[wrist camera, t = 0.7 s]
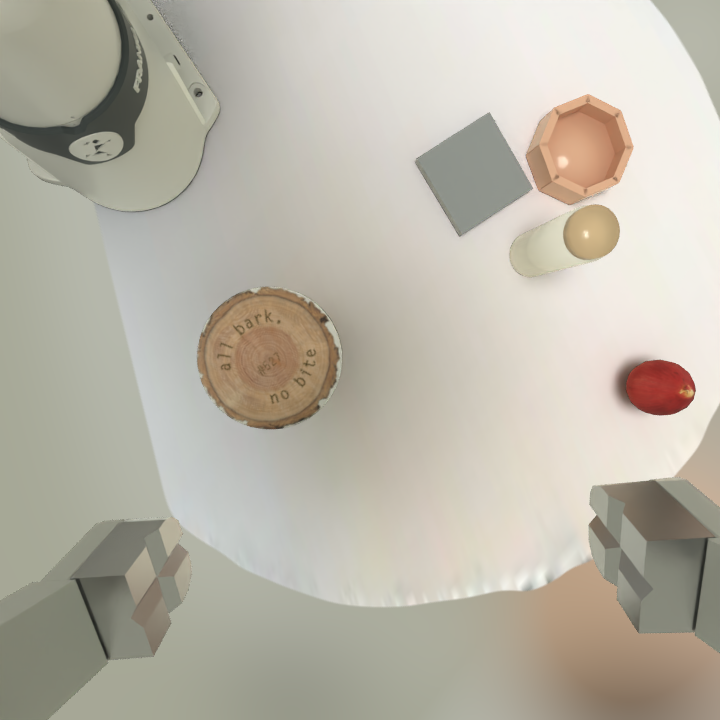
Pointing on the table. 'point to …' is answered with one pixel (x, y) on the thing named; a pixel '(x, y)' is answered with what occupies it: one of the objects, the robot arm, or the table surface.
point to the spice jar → (566, 241)
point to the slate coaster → (473, 174)
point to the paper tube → (269, 357)
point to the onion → (660, 387)
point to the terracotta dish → (579, 149)
